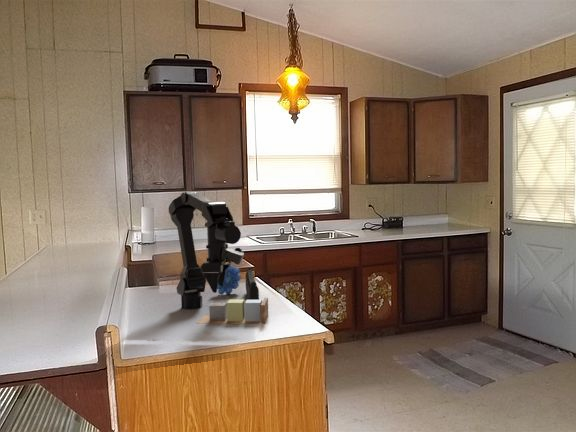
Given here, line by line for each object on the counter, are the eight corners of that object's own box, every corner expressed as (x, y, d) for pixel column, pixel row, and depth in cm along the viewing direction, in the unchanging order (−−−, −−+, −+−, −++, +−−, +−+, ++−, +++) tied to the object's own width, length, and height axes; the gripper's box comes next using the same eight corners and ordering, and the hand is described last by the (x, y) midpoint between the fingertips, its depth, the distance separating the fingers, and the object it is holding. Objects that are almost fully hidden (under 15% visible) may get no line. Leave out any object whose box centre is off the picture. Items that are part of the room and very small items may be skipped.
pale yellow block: (227, 321, 150) (226, 302, 150) (229, 317, 154) (229, 299, 154) (242, 321, 150) (242, 302, 149) (244, 317, 154) (244, 299, 153)
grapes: (238, 290, 197) (237, 262, 196) (243, 293, 190) (242, 264, 190) (211, 293, 192) (210, 264, 191) (215, 297, 186) (214, 267, 185)
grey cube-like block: (209, 321, 151) (209, 305, 150) (212, 317, 155) (212, 302, 154) (225, 321, 150) (224, 305, 150) (227, 317, 154) (227, 302, 154)
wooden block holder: (196, 326, 149) (195, 304, 148) (203, 318, 158) (202, 297, 157) (264, 326, 147) (264, 304, 146) (268, 318, 156) (268, 297, 155)
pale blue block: (245, 321, 150) (244, 302, 149) (247, 317, 154) (246, 299, 153) (260, 321, 149) (260, 302, 149) (262, 317, 153) (261, 299, 153)
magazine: (259, 289, 160) (253, 251, 187) (250, 289, 159) (245, 251, 187) (259, 331, 166) (253, 288, 194) (250, 332, 165) (245, 289, 193)
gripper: (235, 244, 140) (237, 296, 142) (246, 237, 159) (247, 282, 160) (199, 245, 141) (201, 296, 142) (214, 237, 160) (215, 283, 161)
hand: (218, 289), depth 152 cm, fingers open, 9 cm apart
